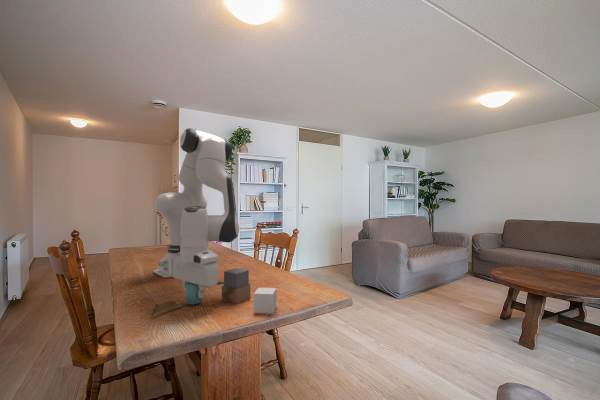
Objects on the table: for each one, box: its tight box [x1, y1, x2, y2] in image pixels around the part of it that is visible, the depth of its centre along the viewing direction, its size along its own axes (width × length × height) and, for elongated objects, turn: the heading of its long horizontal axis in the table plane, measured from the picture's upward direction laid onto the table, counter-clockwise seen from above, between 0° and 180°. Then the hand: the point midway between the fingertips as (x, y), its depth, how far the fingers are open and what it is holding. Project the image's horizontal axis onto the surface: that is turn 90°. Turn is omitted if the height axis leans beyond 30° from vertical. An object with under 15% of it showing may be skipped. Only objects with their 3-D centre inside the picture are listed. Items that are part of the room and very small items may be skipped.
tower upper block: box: [223, 267, 250, 289], centre depth 97 cm, size 6×6×5 cm
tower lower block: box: [221, 283, 251, 304], centre depth 97 cm, size 7×7×5 cm
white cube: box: [253, 287, 278, 315], centre depth 87 cm, size 6×6×6 cm
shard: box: [151, 299, 182, 319], centre depth 87 cm, size 11×8×2 cm
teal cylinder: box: [185, 283, 203, 305], centre depth 92 cm, size 5×5×6 cm
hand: (194, 295), depth 92 cm, fingers closed on teal cylinder, 5 cm apart
